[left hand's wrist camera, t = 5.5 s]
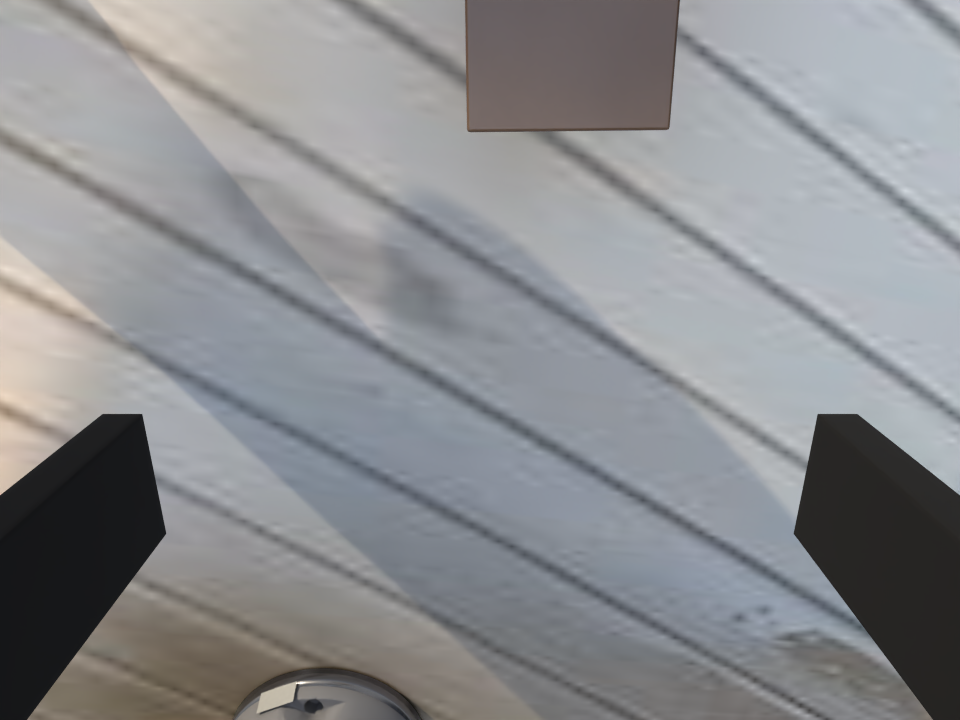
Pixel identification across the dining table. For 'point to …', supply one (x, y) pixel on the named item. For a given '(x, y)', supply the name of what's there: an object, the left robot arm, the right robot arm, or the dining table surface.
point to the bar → (570, 64)
